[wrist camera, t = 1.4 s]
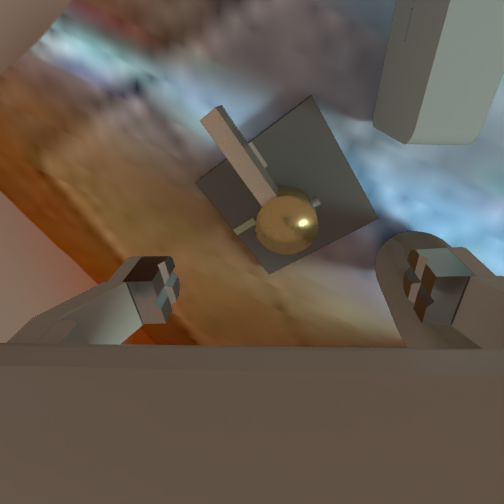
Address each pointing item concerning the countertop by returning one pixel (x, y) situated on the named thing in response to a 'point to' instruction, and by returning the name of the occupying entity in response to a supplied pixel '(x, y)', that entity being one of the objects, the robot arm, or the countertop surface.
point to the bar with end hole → (440, 70)
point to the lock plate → (293, 183)
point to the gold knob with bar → (266, 191)
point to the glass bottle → (407, 322)
